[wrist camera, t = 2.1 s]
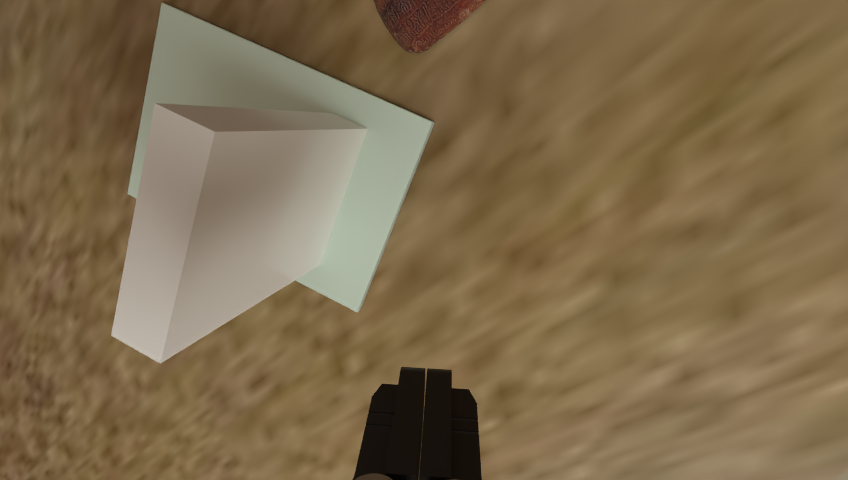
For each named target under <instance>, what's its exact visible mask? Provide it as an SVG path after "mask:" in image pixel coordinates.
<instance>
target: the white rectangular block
mask: <svg viewBox="0 0 848 480" xmlns="http://www.w3.org/2000/svg"><path fill="white" fill-rule="evenodd" d="M366 132H367V128H365V127H363V126H360V125H358V124H356V123H354V122H352V121H349V120H347V119H345V118H343V117H340V116H338V115H336V114H334V113H322V112H304V111H286V110H268V109H251V108H233V107H215V106H197V105H180V104H162V103H155V104H154V109H153V115H152V120H151V125H150V131H149V136H148V141H147V147H146V152H145V158H144V163H143V168H142V174H141V179H140V184H139V190H138V195H137V200H136V206H135V211H134V216H133V222H132V227H131V232H130V238H129V243H128V249H127V254H126V259H125V265H124V270H123V275H122V281H121V286H120V291H119V297H118V302H117V307H116V313H115V318H114V323H113V329H112V334H111V336H113V337H115V338H116V339H118V340H120V341H122V342H123V343H125V344H127V345H129V346H130V347H132V348H134V349H136V350H137V351H139V352H141V353H143V354H144V355H146V356H148V357H150V358H151V359H153V360H155V361H157V362H159V363H162V362H164V361H165V360H167V359H168V358H170V357H172V356H173V355H175V354H176V353H178V352H180V351H181V350H183V349H185V348H186V347H188V346H189V345H191V344H193V343H194V342H196V341H197V340H199V339H201V338H202V337H204V336H206V335H207V334H209V333H210V332H212V331H214V330H215V329H217V328H218V327H220V326H222V325H223V324H225V323H227V322H228V321H230V320H231V319H233V318H235V317H236V316H238V315H239V314H241V313H243V312H244V311H246V310H248V309H249V308H251V307H252V306H254V305H256V304H257V303H259V302H260V301H262V300H264V299H265V298H267V297H269V296H270V295H272V294H273V293H275V292H277V291H278V290H280V289H282V288H283V287H285V286H286V285H288V284H290V283H291V282H293V281H294V280H296V279H298V278H299V277H301V276H303V275H304V274H306V273H307V272H309V271H311V270H312V269H314V268H315V267H317V266H319V265H320V264H321V261H322V258H323V255H324V252H325V249H326V246H327V244H328V241H329V238H330V235H331V232H332V229H333V226H334V223H335V221H336V218H337V215H338V212H339V209H340V206H341V203H342V201H343V198H344V195H345V192H346V189H347V186H348V183H349V181H350V178H351V175H352V172H353V169H354V166H355V163H356V161H357V158H358V155H359V152H360V149H361V146H362V143H363V140H364V138H365V135H366Z"/></svg>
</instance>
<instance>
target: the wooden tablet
mask: <svg viewBox="0 0 848 480" xmlns="http://www.w3.org/2000/svg"><path fill="white" fill-rule="evenodd" d="M484 1H485V0H374V2H375V4H376V8H377V10H378V12H379V14H380V16H381V18H382V20H383V22H384V24H385V26H386V27H387V28H388V30H389V31H390V33H391V34H392V36H393V37H394V39H395V40H396V41H397V42H398V43H399V45H400V46H401V47H402V48H404V49H405V50H406V51H408V52H416V53H420V52H423V51H425V50H428V49H429V48H430V47H431V46H432V45H434V44H435V43H436V42H437V41H438V40H439V39H441V38H443V37H444V36H445V35H446V34H447V33H448V32H450V31H451V30H452V29H453V28H455V27H456V26H457V25H459V24H460V23H461V22H462V21H463V20H464V19H466V18H467V17H468V16H469V15H470V14H471V13H472V12H473V11H475V10H476V9H477V8H478V7H479V6H480V5H481V4H482V3H483V2H484Z"/></svg>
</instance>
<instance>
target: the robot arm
mask: <svg viewBox="0 0 848 480" xmlns="http://www.w3.org/2000/svg"><path fill="white" fill-rule="evenodd" d="M424 392H425V368H411V367H401V371H400V377H399V384H398V385H392V384H382V385H381V386H380V387H379V388H378V390H377V391H376V392H375V393H374V395H373V396H372V399H371V404H370V408H369V414H368V417H367V422H366V427H365V431H364V435H363V440H362V444H361V449H360V453H359V458H358V462H357V467H356V471H355V475H354V478H353V480H482V478H481V462H480V447H479V435H478V432H479V431H478V415H477V403H476V401H475V399H474V398H473V396H472V394H471V393H470V391H469V389H454V388H452V371H451V370H443V369H427V380H426V394H425V407H424ZM423 414H424V420H423ZM422 430H423V433H422ZM421 443H422V446H421ZM420 456H421V459H420ZM419 469H420V472H419Z"/></svg>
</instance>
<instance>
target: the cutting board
mask: <svg viewBox="0 0 848 480" xmlns="http://www.w3.org/2000/svg"><path fill="white" fill-rule="evenodd" d="M155 103H162V104H180V105H197V106H215V107H233V108H251V109H268V110H286V111H304V112H322V113H334V114H336V115H338V116H340V117H343V118H345V119H347V120H349V121H352V122H354V123H356V124H358V125H360V126H363V127H365V128H367V132H366V135H365V138H364V140H363V143H362V146H361V149H360V152H359V155H358V158H357V161H356V163H355V166H354V169H353V172H352V175H351V178H350V181H349V183H348V186H347V189H346V192H345V195H344V198H343V201H342V203H341V206H340V209H339V212H338V215H337V218H336V221H335V223H334V226H333V229H332V232H331V235H330V238H329V241H328V244H327V246H326V249H325V252H324V255H323V258H322V261H321V264H320V265H319V266H317V267H315V268H314V269H312V270H311V271H309V272H307V273H306V274H304V275H303V276H301V277H299V278H298V279H296V281H298V282H299V283H301V284H303V285H305V286H307V287H309V288H311V289H313V290H315V291H317V292H319V293H321V294H323V295H325V296H327V297H329V298H330V299H332V300H334V301H336V302H338V303H340V304H342V305H344V306H346V307H348V308H350V309H352V310H354V311H356V312H358V311H359V310H360V309H361V307H362V304H363V302H364V299H365V297H366V294H367V292H368V289H369V287H370V284H371V282H372V279H373V277H374V274H375V272H376V269H377V267H378V264H379V262H380V259H381V257H382V254H383V252H384V249H385V246H386V244H387V241H388V239H389V236H390V234H391V231H392V229H393V226H394V224H395V221H396V219H397V216H398V214H399V211H400V209H401V206H402V204H403V201H404V199H405V196H406V194H407V191H408V189H409V186H410V184H411V181H412V179H413V176H414V174H415V171H416V169H417V166H418V164H419V161H420V159H421V156H422V153H423V151H424V148H425V146H426V143H427V141H428V138H429V136H430V133H431V131H432V128H433V126H434V123H435V122H433V121H431V120H429V119H426V118H424V117H422V116H420V115H417V114H415V113H413V112H410V111H408V110H406V109H404V108H401V107H399V106H397V105H395V104H392V103H390V102H388V101H386V100H383V99H381V98H379V97H376V96H374V95H372V94H370V93H367V92H365V91H363V90H361V89H358V88H356V87H354V86H352V85H349V84H347V83H345V82H342V81H340V80H338V79H336V78H333V77H331V76H329V75H327V74H324V73H322V72H320V71H318V70H315V69H313V68H311V67H308V66H306V65H304V64H302V63H299V62H297V61H295V60H293V59H290V58H288V57H286V56H284V55H281V54H279V53H277V52H274V51H272V50H270V49H268V48H265V47H263V46H261V45H259V44H256V43H254V42H252V41H250V40H247V39H245V38H243V37H241V36H238V35H236V34H234V33H231V32H229V31H227V30H225V29H222V28H220V27H218V26H216V25H213V24H211V23H209V22H207V21H204V20H202V19H200V18H197V17H195V16H193V15H191V14H188V13H186V12H184V11H182V10H179V9H177V8H175V7H173V6H170V5H168V4H165V3H162V4H161V10H160V15H159V21H158V26H157V32H156V37H155V43H154V49H153V54H152V60H151V65H150V71H149V77H148V82H147V88H146V93H145V99H144V105H143V110H142V116H141V121H140V127H139V133H138V138H137V144H136V149H135V155H134V160H133V166H132V172H131V177H130V183H129V188H128V194H129V195H131V196H133V197H135V198H137V195H138V190H139V184H140V179H141V174H142V168H143V163H144V158H145V152H146V147H147V141H148V136H149V131H150V125H151V120H152V115H153V109H154V104H155Z"/></svg>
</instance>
